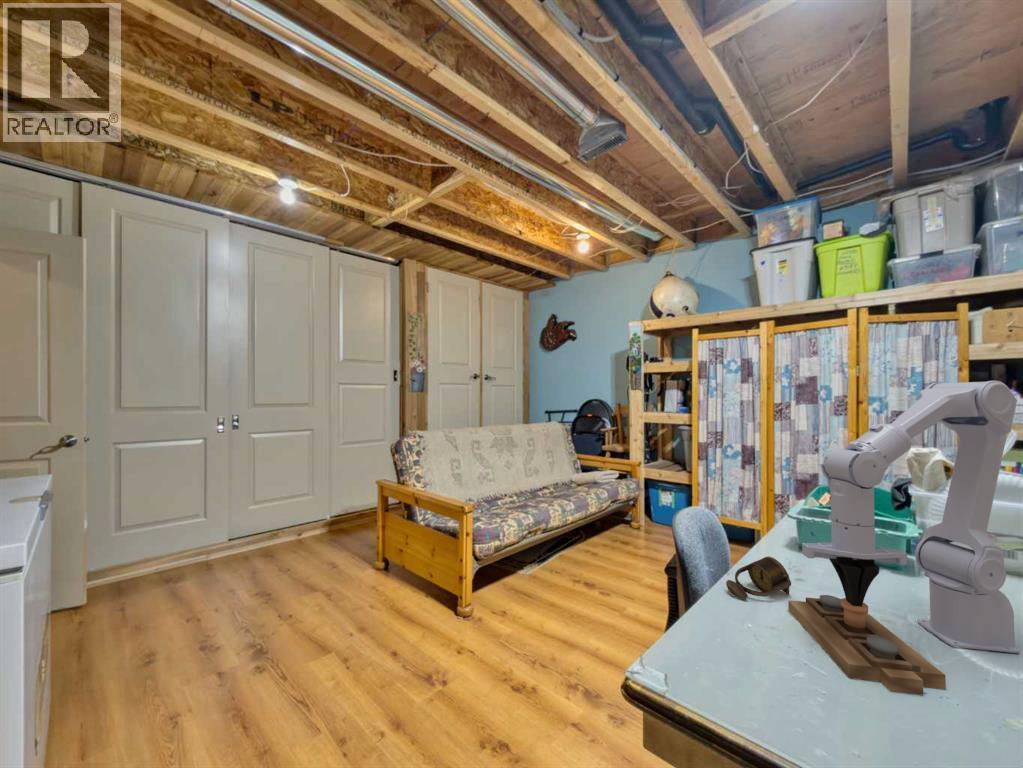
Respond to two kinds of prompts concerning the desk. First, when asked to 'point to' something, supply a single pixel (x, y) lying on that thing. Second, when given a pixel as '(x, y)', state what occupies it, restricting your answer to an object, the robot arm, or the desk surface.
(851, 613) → the terracotta plug
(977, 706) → the desk surface
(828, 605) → the grey plug far
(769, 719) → the desk surface
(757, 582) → the brown watering can
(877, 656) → the grey plug near
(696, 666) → the desk surface
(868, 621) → the walnut test board
